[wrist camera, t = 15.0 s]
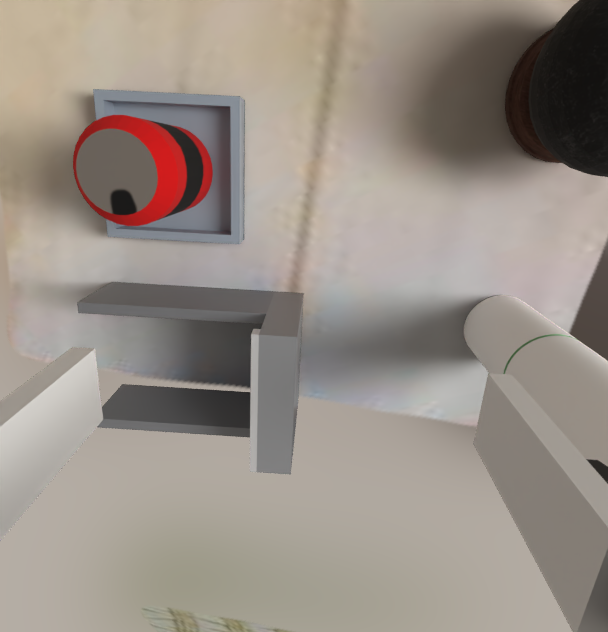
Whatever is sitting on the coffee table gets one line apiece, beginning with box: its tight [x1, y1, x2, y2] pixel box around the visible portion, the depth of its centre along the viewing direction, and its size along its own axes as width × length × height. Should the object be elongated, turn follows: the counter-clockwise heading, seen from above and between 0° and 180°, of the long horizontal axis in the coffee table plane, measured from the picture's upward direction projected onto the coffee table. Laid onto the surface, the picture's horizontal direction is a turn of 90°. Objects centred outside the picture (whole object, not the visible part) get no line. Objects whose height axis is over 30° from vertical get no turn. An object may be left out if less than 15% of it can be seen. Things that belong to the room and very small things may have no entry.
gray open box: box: [77, 282, 304, 474], centre depth 42 cm, size 13×20×12 cm, turn 87°
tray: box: [93, 89, 245, 244], centre depth 41 cm, size 13×13×2 cm
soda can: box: [73, 115, 213, 226], centre depth 36 cm, size 8×8×12 cm
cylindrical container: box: [464, 295, 608, 466], centre depth 34 cm, size 7×7×25 cm
